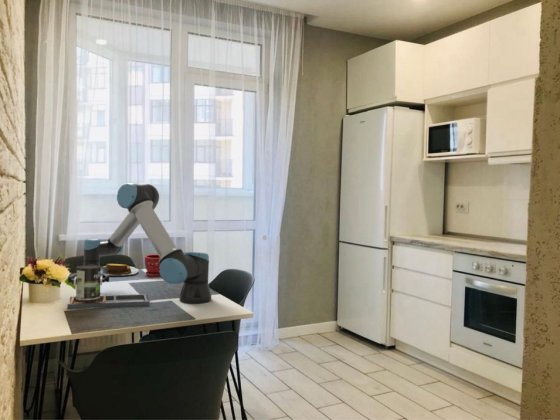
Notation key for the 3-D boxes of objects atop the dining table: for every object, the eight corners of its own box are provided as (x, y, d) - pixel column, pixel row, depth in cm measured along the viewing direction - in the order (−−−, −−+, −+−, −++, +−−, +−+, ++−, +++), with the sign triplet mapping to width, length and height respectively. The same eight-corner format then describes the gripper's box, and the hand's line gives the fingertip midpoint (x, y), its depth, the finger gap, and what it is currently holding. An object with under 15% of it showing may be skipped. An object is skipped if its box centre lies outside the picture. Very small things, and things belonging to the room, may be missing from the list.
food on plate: (138, 270, 306) (139, 260, 306) (139, 277, 282) (139, 266, 282) (96, 270, 298) (96, 260, 298) (93, 278, 275) (93, 266, 274)
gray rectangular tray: (147, 297, 228) (147, 293, 228) (149, 305, 214) (149, 301, 214) (70, 301, 217) (70, 296, 217) (67, 309, 203) (67, 304, 203)
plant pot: (139, 275, 285) (140, 256, 285) (155, 272, 297) (155, 253, 296) (156, 278, 279) (156, 258, 279) (171, 275, 291) (171, 255, 290)
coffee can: (103, 295, 218) (104, 265, 217) (94, 300, 207) (95, 269, 207) (81, 294, 218) (82, 264, 217) (71, 299, 208) (72, 267, 207)
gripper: (115, 280, 233) (115, 290, 212) (64, 281, 226) (59, 291, 205) (115, 265, 233) (115, 273, 212) (65, 266, 225) (59, 274, 204)
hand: (88, 282), depth 208 cm, fingers closed on coffee can, 10 cm apart
